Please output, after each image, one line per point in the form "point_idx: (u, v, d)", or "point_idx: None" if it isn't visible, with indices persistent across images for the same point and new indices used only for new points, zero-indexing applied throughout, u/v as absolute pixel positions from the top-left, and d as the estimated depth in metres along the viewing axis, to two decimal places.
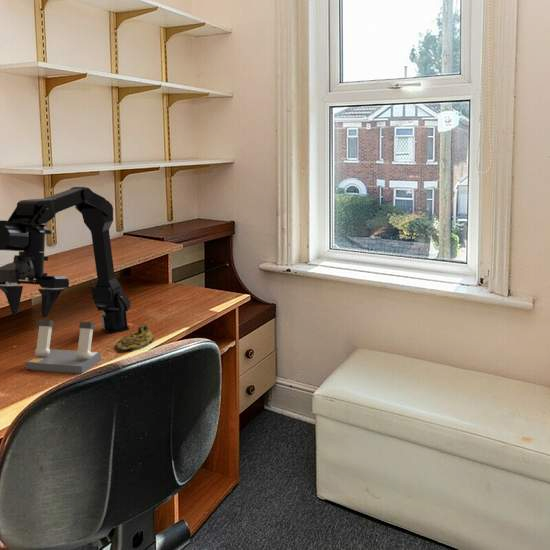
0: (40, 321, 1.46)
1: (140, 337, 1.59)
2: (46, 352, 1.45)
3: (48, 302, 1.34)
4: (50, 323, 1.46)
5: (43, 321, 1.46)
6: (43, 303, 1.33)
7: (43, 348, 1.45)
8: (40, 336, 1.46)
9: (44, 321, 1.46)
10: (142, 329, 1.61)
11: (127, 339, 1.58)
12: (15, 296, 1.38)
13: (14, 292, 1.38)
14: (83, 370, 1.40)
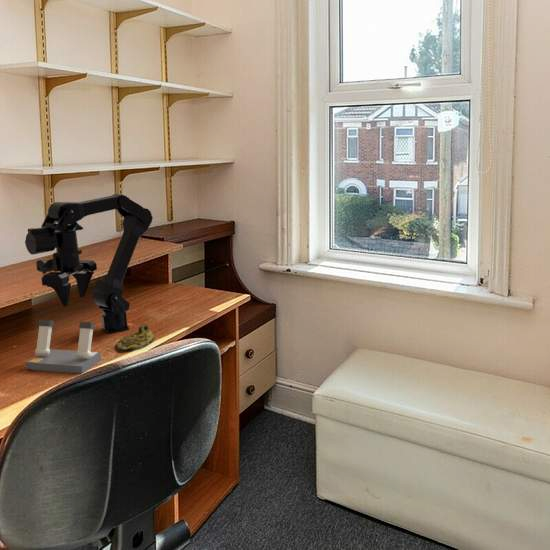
0: (40, 321, 1.46)
1: (140, 337, 1.59)
2: (46, 352, 1.45)
3: (60, 294, 1.53)
4: (50, 323, 1.46)
5: (43, 321, 1.46)
6: None
7: (43, 348, 1.45)
8: (40, 336, 1.46)
9: (44, 321, 1.46)
10: (143, 329, 1.61)
11: (127, 339, 1.58)
12: (81, 282, 1.62)
13: (80, 279, 1.62)
14: (83, 370, 1.40)
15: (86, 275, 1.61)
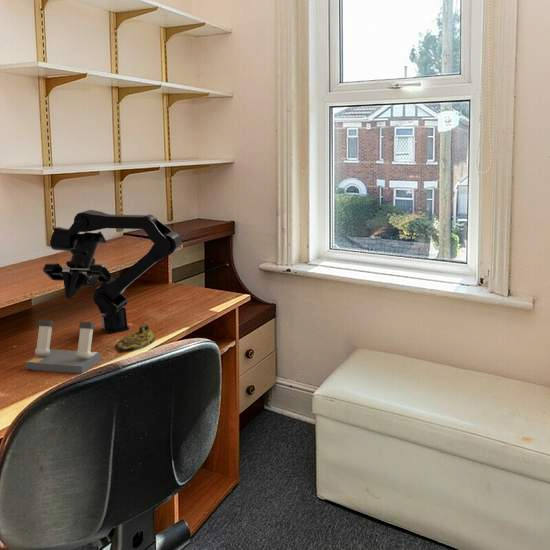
0: (40, 321, 1.46)
1: (141, 337, 1.59)
2: (46, 352, 1.45)
3: None
4: (50, 323, 1.46)
5: (43, 321, 1.46)
6: None
7: (43, 348, 1.45)
8: (40, 336, 1.46)
9: (44, 321, 1.46)
10: (143, 329, 1.61)
11: (128, 339, 1.58)
12: None
13: None
14: (83, 370, 1.40)
15: None
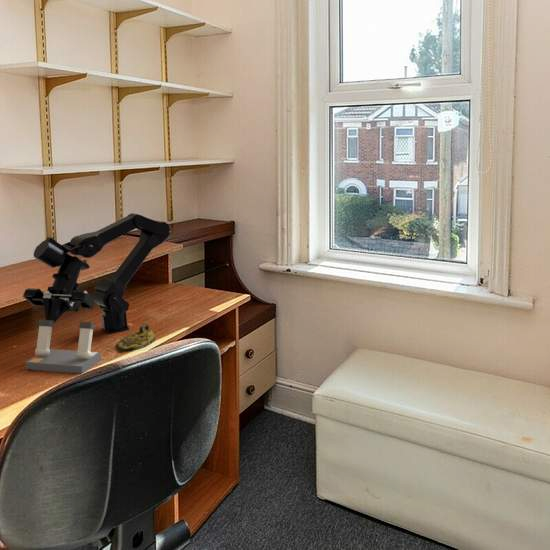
0: (40, 321, 1.46)
1: (141, 337, 1.59)
2: (46, 352, 1.45)
3: None
4: (50, 323, 1.46)
5: (43, 321, 1.46)
6: None
7: (43, 348, 1.45)
8: (40, 336, 1.46)
9: (44, 321, 1.46)
10: (144, 329, 1.62)
11: (128, 338, 1.58)
12: None
13: None
14: (83, 370, 1.40)
15: None
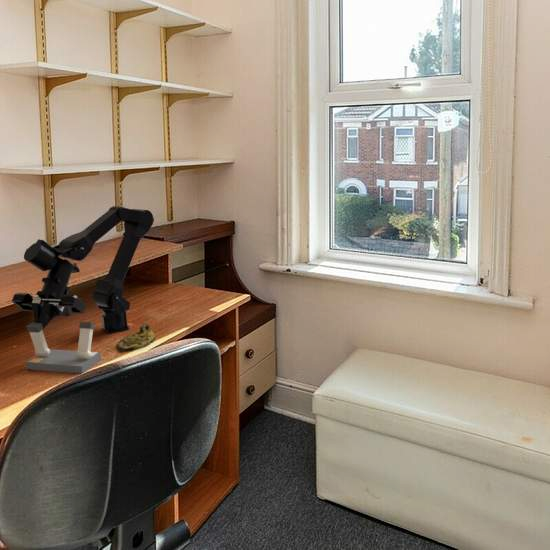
0: (28, 328, 1.42)
1: (142, 336, 1.59)
2: (46, 353, 1.45)
3: None
4: (39, 328, 1.42)
5: (31, 328, 1.42)
6: None
7: (42, 350, 1.45)
8: (34, 340, 1.44)
9: (32, 328, 1.42)
10: (144, 328, 1.62)
11: (129, 338, 1.58)
12: None
13: None
14: (83, 370, 1.40)
15: None
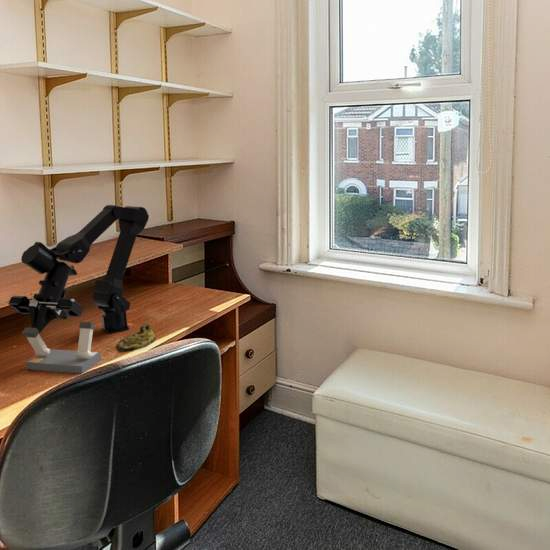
0: (24, 334, 1.40)
1: (142, 336, 1.59)
2: (47, 353, 1.45)
3: None
4: (35, 334, 1.40)
5: (27, 334, 1.40)
6: None
7: (42, 351, 1.45)
8: (32, 344, 1.43)
9: (28, 334, 1.40)
10: (144, 328, 1.62)
11: (129, 338, 1.58)
12: None
13: None
14: (83, 370, 1.40)
15: None
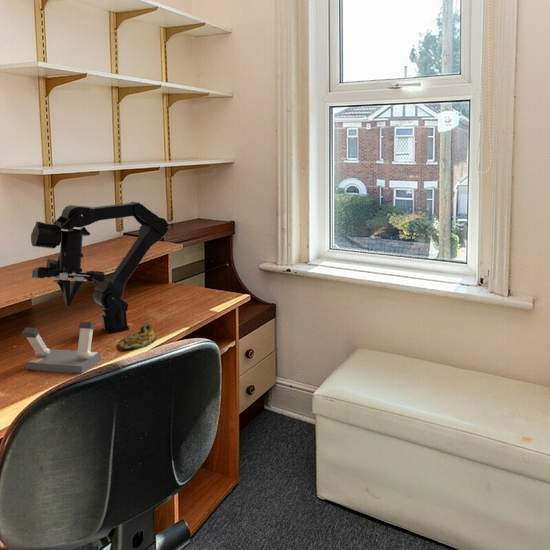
0: (24, 334, 1.40)
1: (142, 336, 1.59)
2: (47, 354, 1.45)
3: (63, 292, 1.56)
4: (35, 334, 1.40)
5: (27, 334, 1.40)
6: None
7: (42, 351, 1.45)
8: (32, 344, 1.43)
9: (28, 334, 1.40)
10: (145, 328, 1.62)
11: (130, 338, 1.59)
12: (70, 289, 1.57)
13: (71, 286, 1.57)
14: (83, 370, 1.40)
15: (74, 282, 1.56)
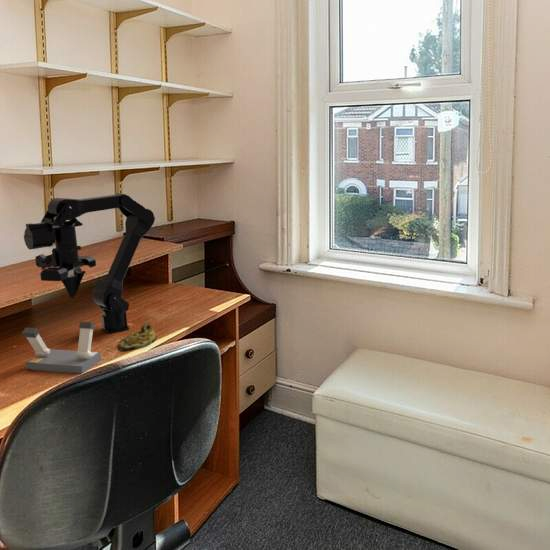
0: (24, 334, 1.40)
1: (143, 336, 1.60)
2: (47, 354, 1.45)
3: (68, 286, 1.57)
4: (35, 334, 1.40)
5: (27, 334, 1.40)
6: None
7: (42, 351, 1.45)
8: (32, 344, 1.43)
9: (28, 334, 1.40)
10: (145, 328, 1.62)
11: (130, 338, 1.59)
12: None
13: None
14: (83, 370, 1.40)
15: (77, 274, 1.58)
